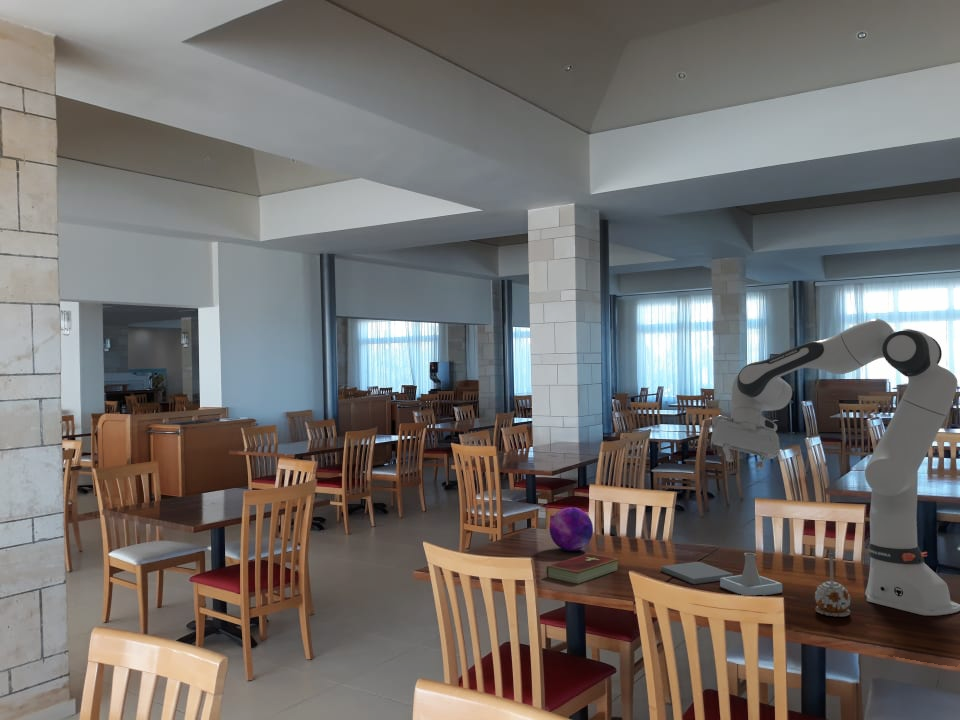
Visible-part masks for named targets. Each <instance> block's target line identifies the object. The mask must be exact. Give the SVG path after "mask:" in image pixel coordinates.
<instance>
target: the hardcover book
mask: <svg viewBox="0 0 960 720" xmlns="http://www.w3.org/2000/svg"><path fill="white" fill-rule="evenodd" d="M619 560H620V558H616V557H610V556H606V555H600V554H594V553H590V552H589V553H588V552H587V553H585V554H581V555H578V556H575V557H572V558H569V559H565V560H561V561H559V562H556V563H555V562H554V563H552V564H549V565H547V566H546V577H547V578H551V579H556V580H559V581H565V582H569V583H573V584H577V585H579V584H581V583H584V582H587V581H590V580H593V579H595V578H599V577H602V576H604V575H608V574H610V573H613V572H616V571H618V562H619Z"/></svg>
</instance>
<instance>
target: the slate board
mask: <svg viewBox="0 0 960 720" xmlns="http://www.w3.org/2000/svg"><path fill="white" fill-rule="evenodd" d="M660 571H661V572H662V573H665V574H668V575H670V576H672V577H675V578H677V579H680V580H683V581H685V582H687V583H689V584H692V585H696V584H697V585H699V584H705V583H712V582H720V578H723V577H730V576H734V573H732V572H729V571H727V570H724V569H720V568H719V567H716V566H713V565H710V564H707V563H705V562H702V561H694V562H693V561H692V562H685V563H678V564H677V563H675V564H668V565H662V566H661V569H660Z"/></svg>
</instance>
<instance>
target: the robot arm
mask: <svg viewBox="0 0 960 720" xmlns="http://www.w3.org/2000/svg"><path fill="white" fill-rule="evenodd" d="M942 352H943V351H942V348H941V346H940V344H939V343H938V341H937V340H936V339H935V338H933V337H932V336H930V335H928V334H927V333H925V332H923V331H919V330H915V329H910V328H903V329H898V330H894V329H893V328H892V326H891V325H890V324H889V323H888V322H887V321H885V320H883V319H881V318H871V319H868V320H865V321H863V322H860V323H858V324H855V325H853V326H851V327H849V328H846V329H844V330H843V331H841V332H839V333H837V334H835V335H833V336H830V337H827V338H824V339H821V340H816V341H809V342H805V343H802V344H799V345H798V346H797V345H796V346H795V347H792V348H790V349H787V350H784V351H783V352H781V353H779V354H776V355H773V356H771V357H769V358H767V359H764V360H759V361H755V362H751V363H748V364H746V365H745V366H743V367H742V368H741V370H740V371H739V373H738V374H737V375H736V376H735V378H734V380H733V383H732V388H731V404H732V406H731V407H732V408H731V410H730V417H726V416H723V415H716V416H714V418H713V419H712V427H713V429H712V432H711V439H710V441H711V443H712V444H713V446H714V445H715V446H719V447H722V452H723V453H724V455H725V462H730V463H731V462H733V461H734V454H732V453H731V451H730V450H734V451H739V452H742V453H746V454H751V455H755V456H759V459H760V461H759V460H758V462H756V463H755V469H757V470H758V469H759V470H763V469H764V463H765V462H766V460H767V459H770V460H773V459H775V458H777V456H779V454H780V447H781V446H780V439H779V438H780V437H779V435H778V434H777V430H778V425H777V424H776V423H775V422H773V421H772V420H769V419H768V418H766V417H765V416H764V415H762V412H773V411H780V410H783V409H784V408H786V407H787V406H788V405H789V404H790V402H791V400H792V398H793V388H792V386H791V385H790V384H789V383H788V382H786V380H784V379H783V378H782V377H783V376H785V375H788V374H790V373H792V372H795V371H797V370H800V369H808V368H809V369H815V370H821V371H824V372H826V373H827V372H828V373H831V374H834V375H844V374H849V373H851V372H854V371H857V370H859V369H861V368H862V367H865V366H867V365H868V364H869V363H872V362H875V360H879V359H882V358H883V359H885V361H886V362H887V363H888V364H889V365H890V366H891V367H893V368H894V369H895V370H896V371H898V372H899V373H900V374H902V375H903V376H905V377H907V378H908V382H907V385H906V389H905V390H904V392H903V395H902V396H901V399H900V401H899V403H898V404H897V407H896V409H895V411H894V413H893V415H892V417H891V419H890V421H889V423H888V425H887V427H886V428H885V431H884V432H883V434H882V435H881V437H880V439H879V441H878V444H877V445H876V447H875V449H874V450H873V452H872V454H871V456H870V458H869V460H868V462H867V464H866V466H865V469H864V478H865V480H866V483H867V486H869V488H871V493H870V494H871V499H870V509H869V536H870V537H869V538H870V540H869V543H868V556H869V558H870V560H869V561H870V562H869V574H868V580H867V586H866V589H865V592H864V595H865V596H866V601H867V602H869V603H874V604H877V605H881V606H884V607H885V606H886V607H890V608H892V609H893V608H894V609H897V610H900V611H905V612H909V613H913V614H915V615H916V614H917V615H921V616H943V615H949V614H954V613H958V612H960V604H959V603H957V602H955V601H953V600H951V594H950V591H949V590H950V589H949V586H948V584H947V583H946V581H944V580H943V579H942V578H941V577H940V576H939V575H938V574H937V573H936V572H935V571H934V570H933V569H932V568H930V567H929V565H927V564H926V563H925V559H924V558H925V557H928V552H927V551H924V552H922V551H921V548H920V547H919V546H918V525H917V524H918V521H917V519H918V518H917V517H918V516H917V513H918V512H917V511H918V510H917V509H918V487H919V486H918V484H919V483H918V480H919V479H918V478H919V476H918V475H919V473H918V471H919V469H920V467H921V465H922V464H923V462H924V461H925V458H926V456H927V454H928V452H929V450H930V448H931V447H932V445H933V444H934V441H935V439H936V438H937V435H938V433H939V431H940V429H941V428H942V426H943V423H944V421H945V420H946V417H947V415H948V413H949V411H950V409H951V407H952V403H953V401H954V398H955V395H956V392H957V388H958V379H957V377H956V375H955V374H954V373H953V372H951V371H950V370H949V369H947V368H945V367H943V366H941V365H939V363H940V361H941V359H942V356H943V355H942V354H943V353H942Z"/></svg>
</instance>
